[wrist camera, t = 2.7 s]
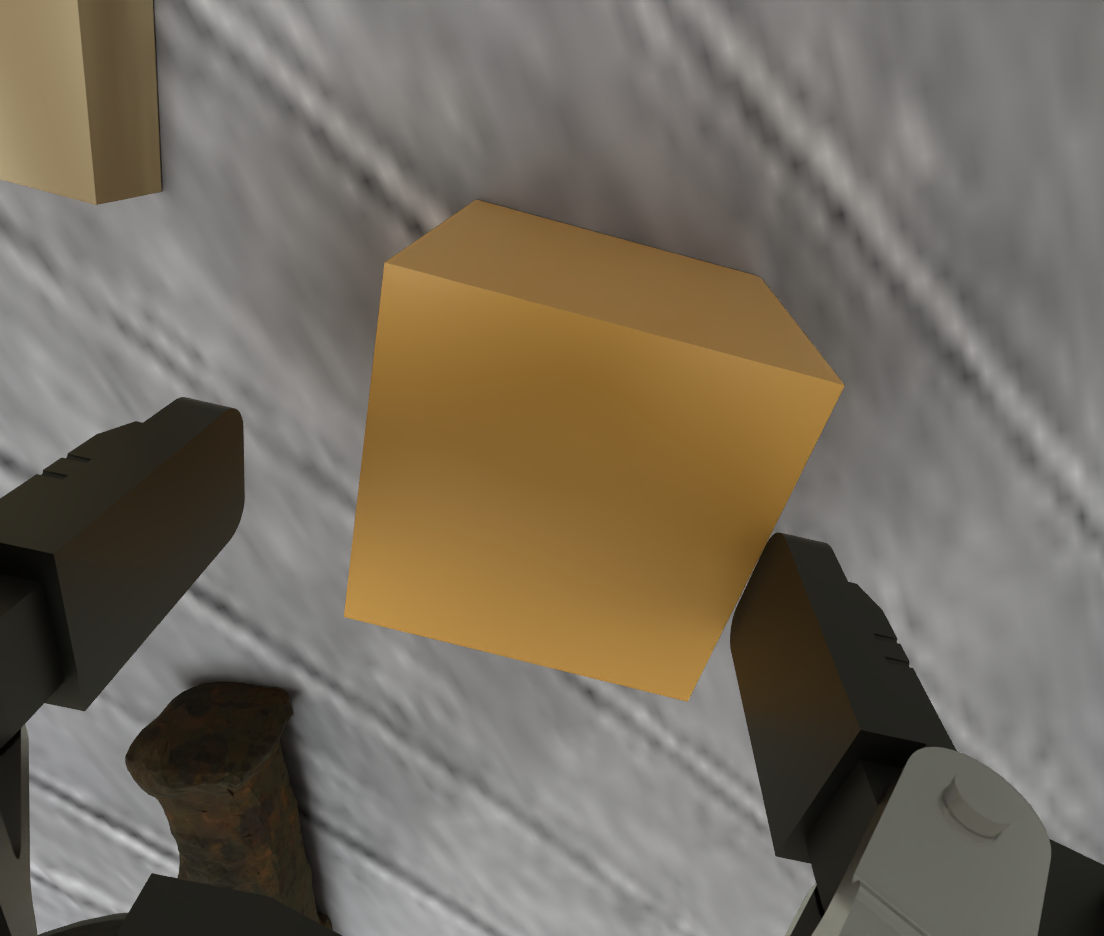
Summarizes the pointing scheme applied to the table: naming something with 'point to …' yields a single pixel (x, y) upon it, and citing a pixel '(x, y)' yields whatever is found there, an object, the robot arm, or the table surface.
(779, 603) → the robot arm
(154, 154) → the cream base with peg
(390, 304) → the mustard yellow cube
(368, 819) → the table surface
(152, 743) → the hand tool
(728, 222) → the table surface
